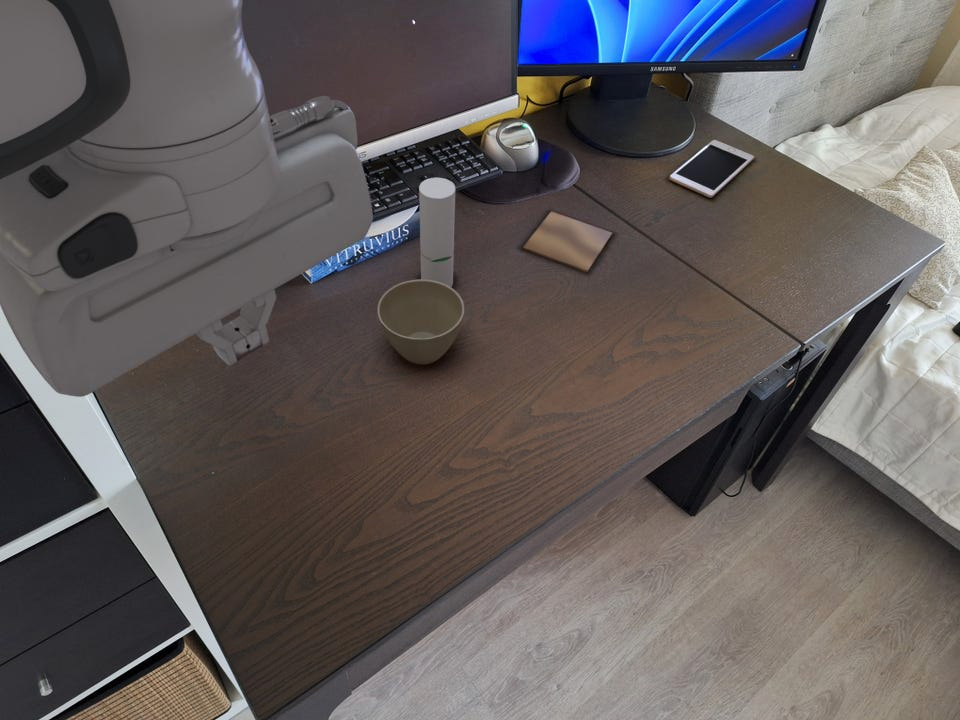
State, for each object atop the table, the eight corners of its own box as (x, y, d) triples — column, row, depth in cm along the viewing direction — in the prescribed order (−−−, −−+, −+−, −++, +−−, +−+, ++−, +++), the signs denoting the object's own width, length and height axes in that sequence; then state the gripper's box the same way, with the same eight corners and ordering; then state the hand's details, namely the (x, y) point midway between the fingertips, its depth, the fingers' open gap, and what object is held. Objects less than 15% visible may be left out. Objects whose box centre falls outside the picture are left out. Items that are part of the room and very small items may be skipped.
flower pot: (456, 317, 86) (457, 275, 81) (468, 376, 80) (470, 334, 74) (378, 324, 85) (374, 281, 79) (384, 384, 78) (380, 342, 73)
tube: (415, 287, 90) (412, 192, 78) (429, 268, 92) (428, 174, 81) (444, 296, 89) (446, 202, 77) (457, 277, 91) (461, 183, 80)
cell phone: (754, 159, 115) (755, 156, 115) (711, 198, 107) (712, 195, 106) (713, 142, 118) (714, 139, 118) (668, 179, 110) (669, 176, 109)
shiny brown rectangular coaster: (587, 273, 93) (587, 270, 93) (522, 249, 96) (523, 246, 96) (612, 234, 99) (612, 232, 99) (550, 213, 102) (551, 211, 102)
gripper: (314, 65, 39) (340, 252, 49) (-77, 212, 28) (61, 410, 39) (388, 106, 36) (398, 295, 46) (-14, 285, 26) (116, 476, 36)
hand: (243, 348), depth 42 cm, fingers closed
